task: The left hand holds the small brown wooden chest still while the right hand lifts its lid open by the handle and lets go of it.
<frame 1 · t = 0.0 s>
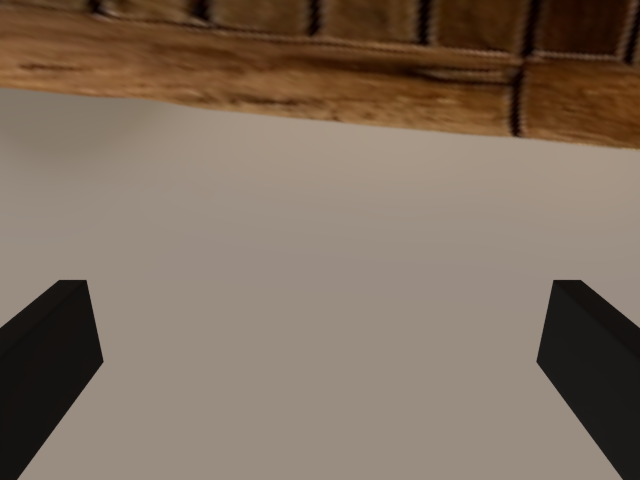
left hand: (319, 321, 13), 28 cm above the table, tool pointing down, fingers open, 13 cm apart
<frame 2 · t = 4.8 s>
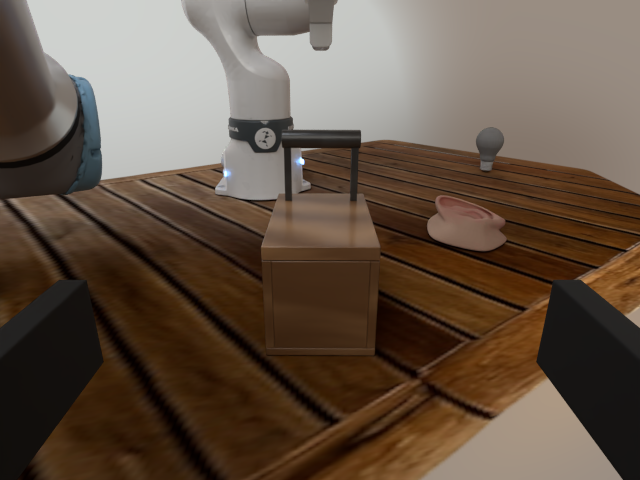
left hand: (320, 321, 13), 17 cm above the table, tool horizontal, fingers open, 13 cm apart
anatomical model: (464, 234, 66), on the table
lid: (321, 184, 41), point 13 cm above the table, hinge at 0.0°
chest: (320, 311, 45), on the table
light bulb: (485, 171, 105), on the table
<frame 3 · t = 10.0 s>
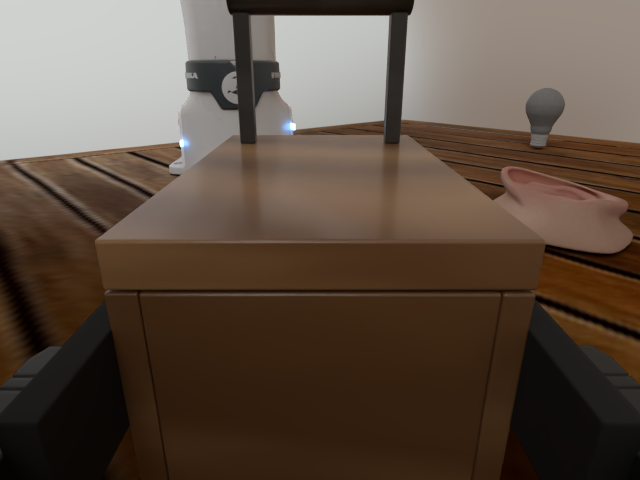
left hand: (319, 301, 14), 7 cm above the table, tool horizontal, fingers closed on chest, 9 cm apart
anatomical model: (554, 226, 41), on the table
lid: (320, 77, 15), point 13 cm above the table, hinge at 0.0°
chest: (320, 395, 20), on the table, touching left hand
light bulb: (537, 148, 80), on the table
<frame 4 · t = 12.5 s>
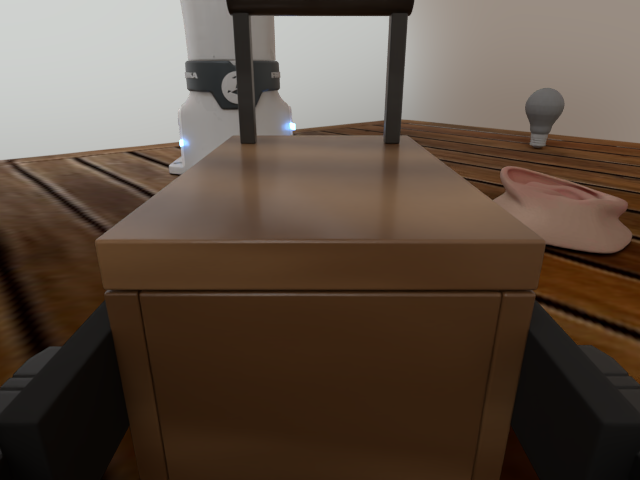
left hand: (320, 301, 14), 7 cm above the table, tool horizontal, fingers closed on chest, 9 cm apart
anatomical model: (554, 226, 41), on the table
lid: (320, 77, 15), point 13 cm above the table, hinge at -0.1°, touching right hand
chest: (320, 395, 20), on the table, touching left hand
light bulb: (537, 148, 80), on the table
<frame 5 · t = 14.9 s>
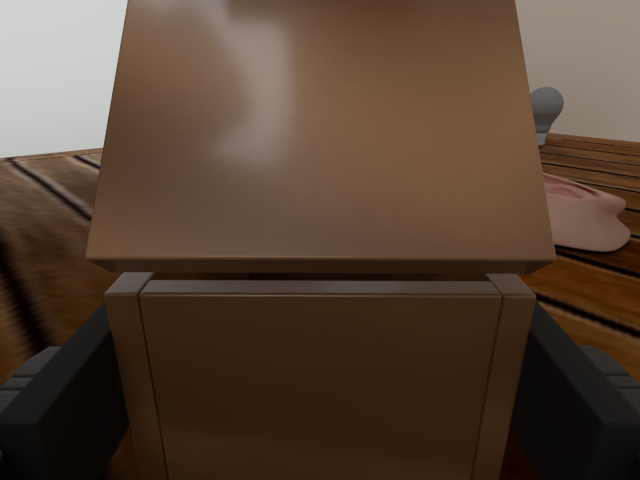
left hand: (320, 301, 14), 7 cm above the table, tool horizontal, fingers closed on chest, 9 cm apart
anatomical model: (553, 224, 41), on the table
chest: (319, 394, 20), on the table, touching left hand
light bulb: (536, 147, 80), on the table
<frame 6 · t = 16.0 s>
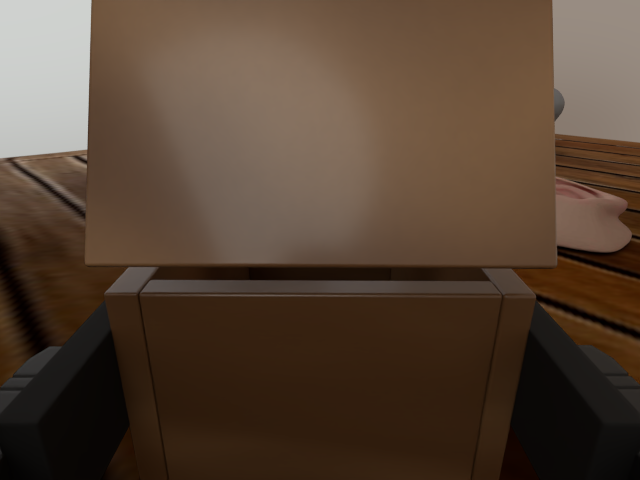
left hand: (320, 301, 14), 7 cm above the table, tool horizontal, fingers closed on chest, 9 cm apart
anatomical model: (553, 225, 41), on the table
chest: (319, 394, 20), on the table, touching left hand
light bulb: (537, 147, 80), on the table
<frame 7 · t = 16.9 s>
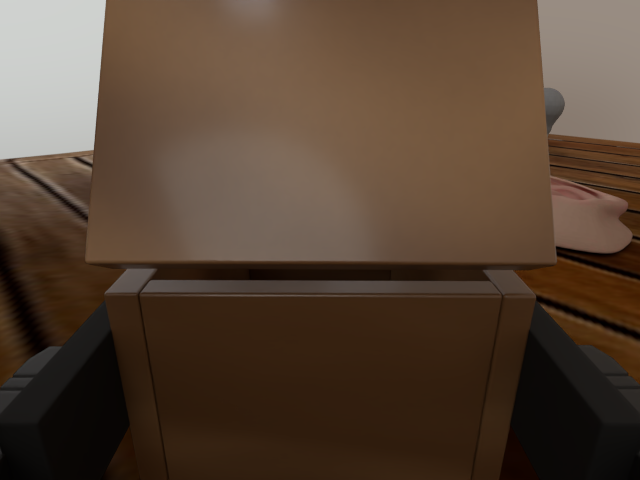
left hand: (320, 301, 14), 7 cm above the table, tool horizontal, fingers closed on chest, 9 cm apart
anatomical model: (554, 226, 41), on the table
chest: (319, 394, 20), on the table, touching left hand
light bulb: (537, 148, 80), on the table
when the left hand's fingers open (7 cm above the table, at t = 19.8 s): chest stays where it is, on the table.
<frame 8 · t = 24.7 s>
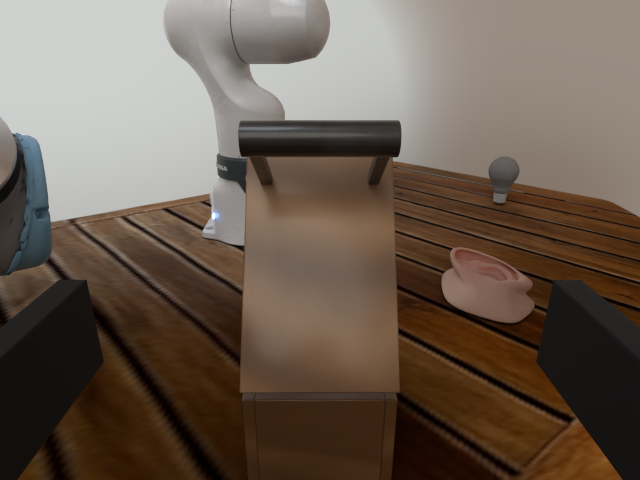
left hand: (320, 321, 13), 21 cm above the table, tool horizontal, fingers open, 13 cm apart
anatomical model: (484, 296, 58), on the table
lid: (319, 252, 24), point 18 cm above the table, hinge at 58.3°
chest: (319, 425, 37), on the table
light bulb: (498, 204, 97), on the table
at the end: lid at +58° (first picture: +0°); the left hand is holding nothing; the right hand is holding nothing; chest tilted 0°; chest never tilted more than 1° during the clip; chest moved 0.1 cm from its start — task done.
